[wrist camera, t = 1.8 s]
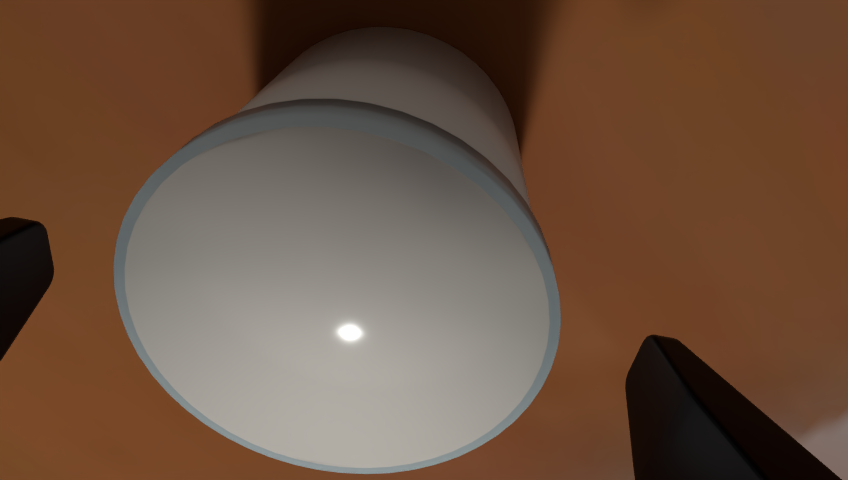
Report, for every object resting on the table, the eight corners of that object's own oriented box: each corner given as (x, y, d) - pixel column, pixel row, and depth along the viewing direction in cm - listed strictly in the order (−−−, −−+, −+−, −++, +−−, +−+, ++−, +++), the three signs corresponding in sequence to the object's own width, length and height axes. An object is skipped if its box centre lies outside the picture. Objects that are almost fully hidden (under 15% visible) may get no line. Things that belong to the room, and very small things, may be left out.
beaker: (560, 51, 12) (628, 170, 7) (489, 294, 15) (499, 500, 10) (254, -9, 12) (86, 66, 7) (249, 250, 15) (133, 437, 10)
